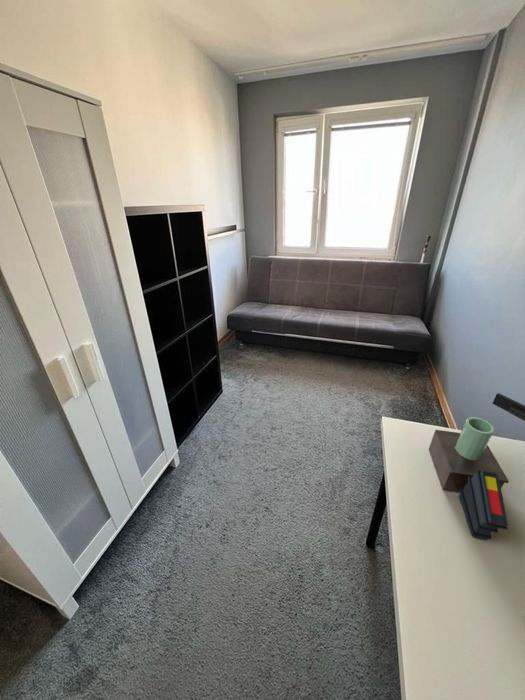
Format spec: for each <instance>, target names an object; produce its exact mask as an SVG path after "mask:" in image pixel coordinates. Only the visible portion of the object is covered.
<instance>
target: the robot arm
mask: <svg viewBox="0 0 525 700" xmlns="http://www.w3.org/2000/svg"><path fill="white" fill-rule="evenodd" d="M491 404H492V405H494V406H495V407H498V408H500V409H502V410H504V411H505V412H508V413H509V414H511V415H513V416H514V417H516V418H518V419H520V420H522V421H523V422H525V405H524V404H522V403H520V402H519V401H517V400H514V399H512V398H510V397H508V396H506V395H504V394H502V393H500V392H498V393H496V394H495V397H494V399H493V401H492V403H491Z"/></svg>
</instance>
